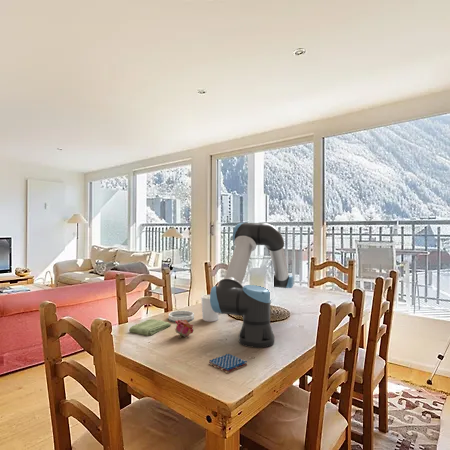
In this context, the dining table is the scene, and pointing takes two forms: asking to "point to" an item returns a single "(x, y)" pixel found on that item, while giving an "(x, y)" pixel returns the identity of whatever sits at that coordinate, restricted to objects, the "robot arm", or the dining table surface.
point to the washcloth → (149, 327)
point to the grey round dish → (181, 316)
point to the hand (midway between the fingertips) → (223, 304)
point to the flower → (183, 328)
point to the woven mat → (228, 362)
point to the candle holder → (208, 309)
